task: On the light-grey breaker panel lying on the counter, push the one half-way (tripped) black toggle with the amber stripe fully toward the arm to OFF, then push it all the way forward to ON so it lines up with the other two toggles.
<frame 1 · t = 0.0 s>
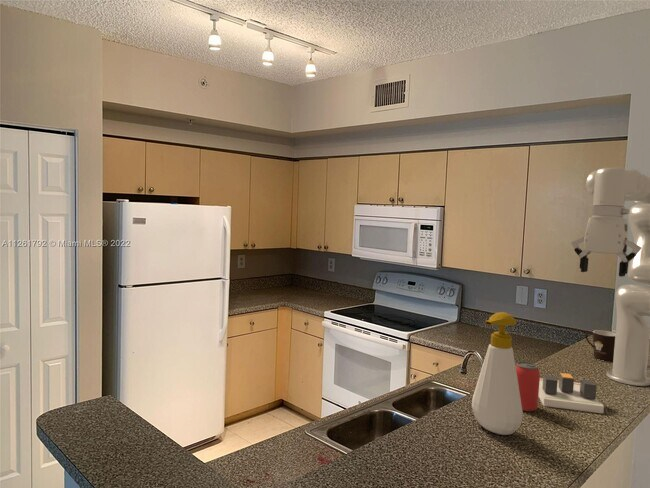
hand: (602, 273, 134), 37 cm above the worktop, tool pointing down, fingers open, 9 cm apart
soap bottle: (492, 431, 116), on the worktop
coffee mug: (601, 358, 182), on the worktop
tripped breaker: (566, 382, 139), point 4 cm above the worktop, slide at 3.0 cm
breaker panel: (564, 397, 140), on the worktop
beer can: (524, 408, 131), on the worktop
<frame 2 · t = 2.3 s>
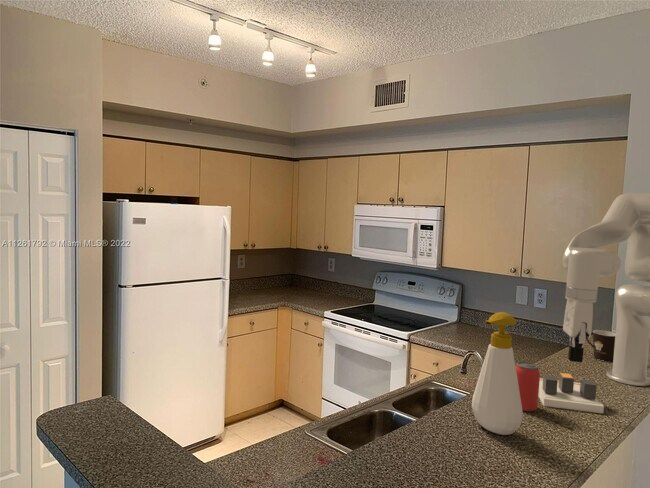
hand: (575, 360, 131), 13 cm above the worktop, tool pointing down, fingers closed
nothing on the worktop moved.
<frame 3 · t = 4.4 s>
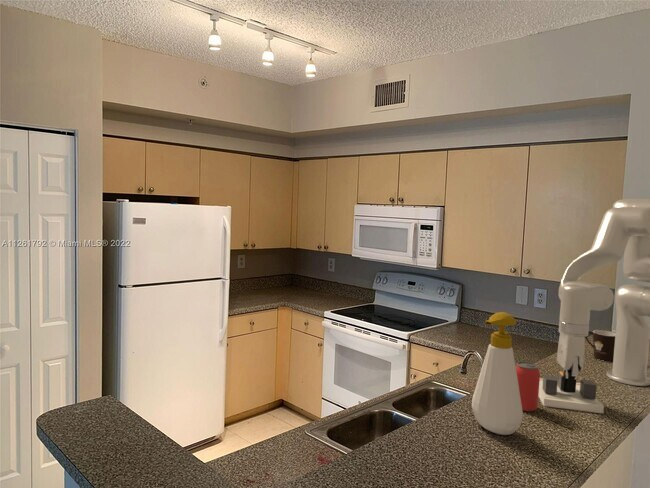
hand: (568, 391, 137), 3 cm above the worktop, tool pointing down, fingers closed
tripped breaker: (564, 381, 141), point 4 cm above the worktop, slide at 1.6 cm, touching gripper
everything else where it was.
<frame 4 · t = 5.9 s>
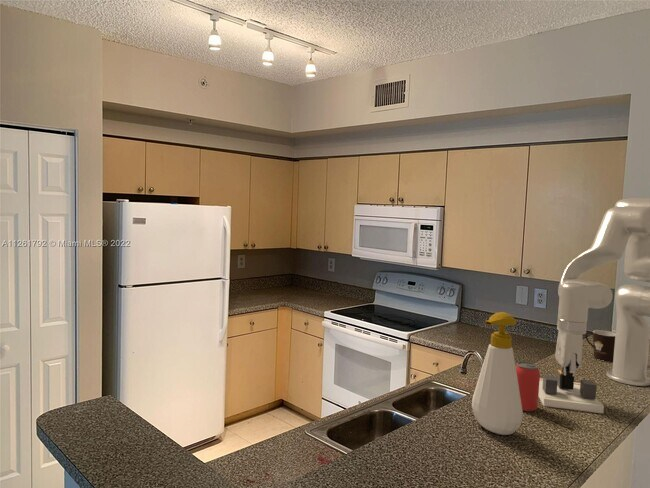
hand: (566, 387, 138), 3 cm above the worktop, tool pointing down, fingers closed
tripped breaker: (563, 379, 142), point 4 cm above the worktop, slide at 0.0 cm
everything else where it was.
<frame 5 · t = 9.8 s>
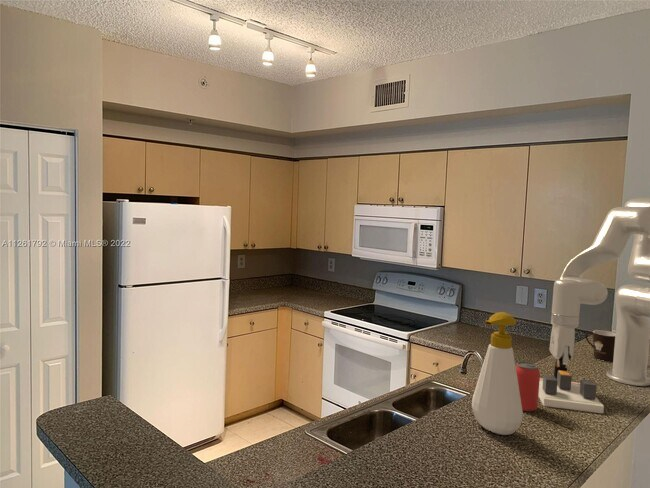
hand: (559, 378, 146), 3 cm above the worktop, tool pointing down, fingers closed
tripped breaker: (564, 379, 142), point 4 cm above the worktop, slide at 0.4 cm, touching gripper
everything else where it was.
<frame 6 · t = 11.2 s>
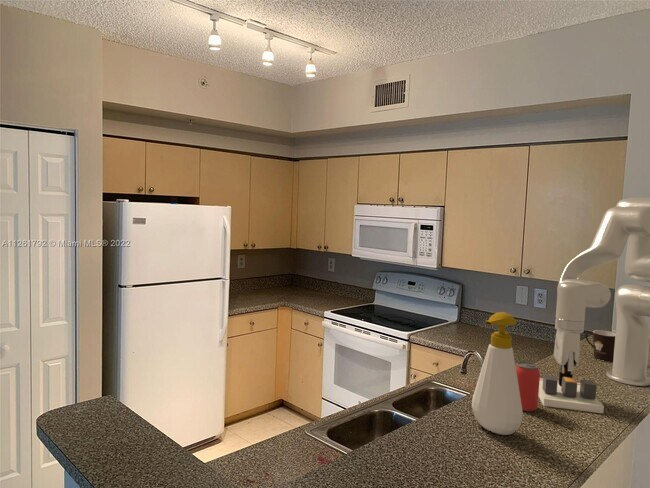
hand: (564, 385, 140), 3 cm above the worktop, tool pointing down, fingers closed
tripped breaker: (569, 386, 136), point 4 cm above the worktop, slide at 6.4 cm, touching gripper
everything else where it was.
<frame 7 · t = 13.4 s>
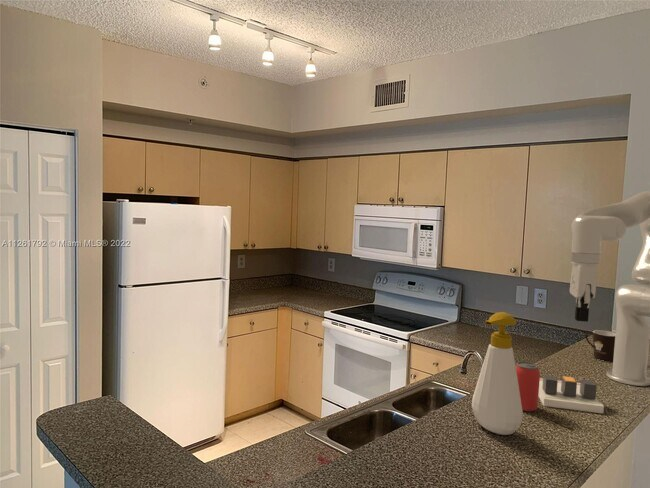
hand: (581, 320, 141), 22 cm above the worktop, tool pointing down, fingers closed
tripped breaker: (568, 386, 136), point 4 cm above the worktop, slide at 6.0 cm
everything else where it was.
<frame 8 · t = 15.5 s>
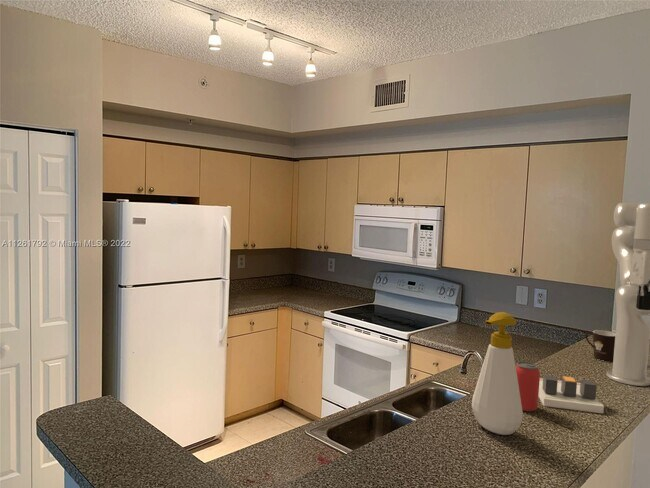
hand: (643, 309, 138), 27 cm above the worktop, tool pointing down, fingers closed
nothing on the worktop moved.
at the end: tripped breaker slide at 6.0 cm; tripped breaker touching nothing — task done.
